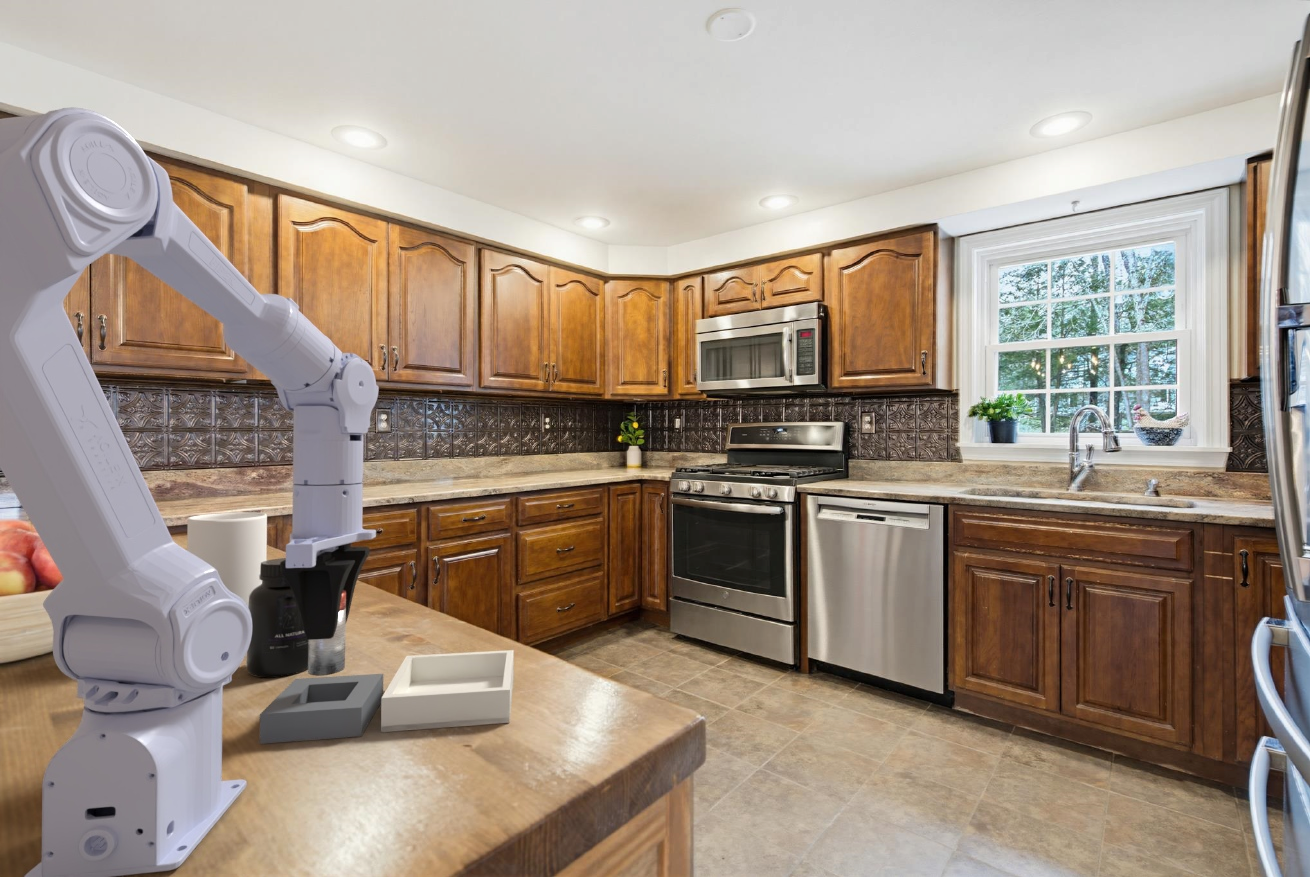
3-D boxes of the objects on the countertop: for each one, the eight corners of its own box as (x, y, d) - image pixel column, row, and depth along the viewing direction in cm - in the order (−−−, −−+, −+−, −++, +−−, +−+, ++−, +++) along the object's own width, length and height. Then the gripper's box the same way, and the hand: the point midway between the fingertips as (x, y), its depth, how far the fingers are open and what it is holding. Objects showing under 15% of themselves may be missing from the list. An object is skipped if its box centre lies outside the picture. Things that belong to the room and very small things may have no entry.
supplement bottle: (285, 681, 67) (286, 568, 67) (231, 676, 68) (232, 565, 68) (331, 659, 73) (332, 556, 73) (281, 655, 75) (282, 554, 75)
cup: (258, 650, 76) (259, 518, 76) (176, 658, 73) (177, 521, 73) (271, 631, 84) (272, 511, 84) (197, 637, 81) (199, 513, 81)
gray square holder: (361, 736, 55) (361, 707, 55) (259, 743, 53) (260, 713, 53) (383, 698, 62) (383, 673, 62) (295, 704, 61) (295, 678, 61)
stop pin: (339, 674, 56) (340, 596, 57) (302, 676, 56) (304, 597, 56) (348, 663, 59) (350, 588, 59) (314, 664, 59) (315, 589, 59)
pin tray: (509, 722, 57) (509, 689, 57) (381, 732, 55) (381, 697, 55) (513, 677, 68) (513, 649, 68) (406, 684, 66) (406, 655, 66)
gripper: (353, 489, 51) (351, 655, 51) (392, 478, 66) (391, 609, 66) (257, 489, 50) (255, 660, 50) (319, 479, 64) (317, 612, 64)
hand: (326, 632), depth 58 cm, fingers closed on stop pin, 3 cm apart
